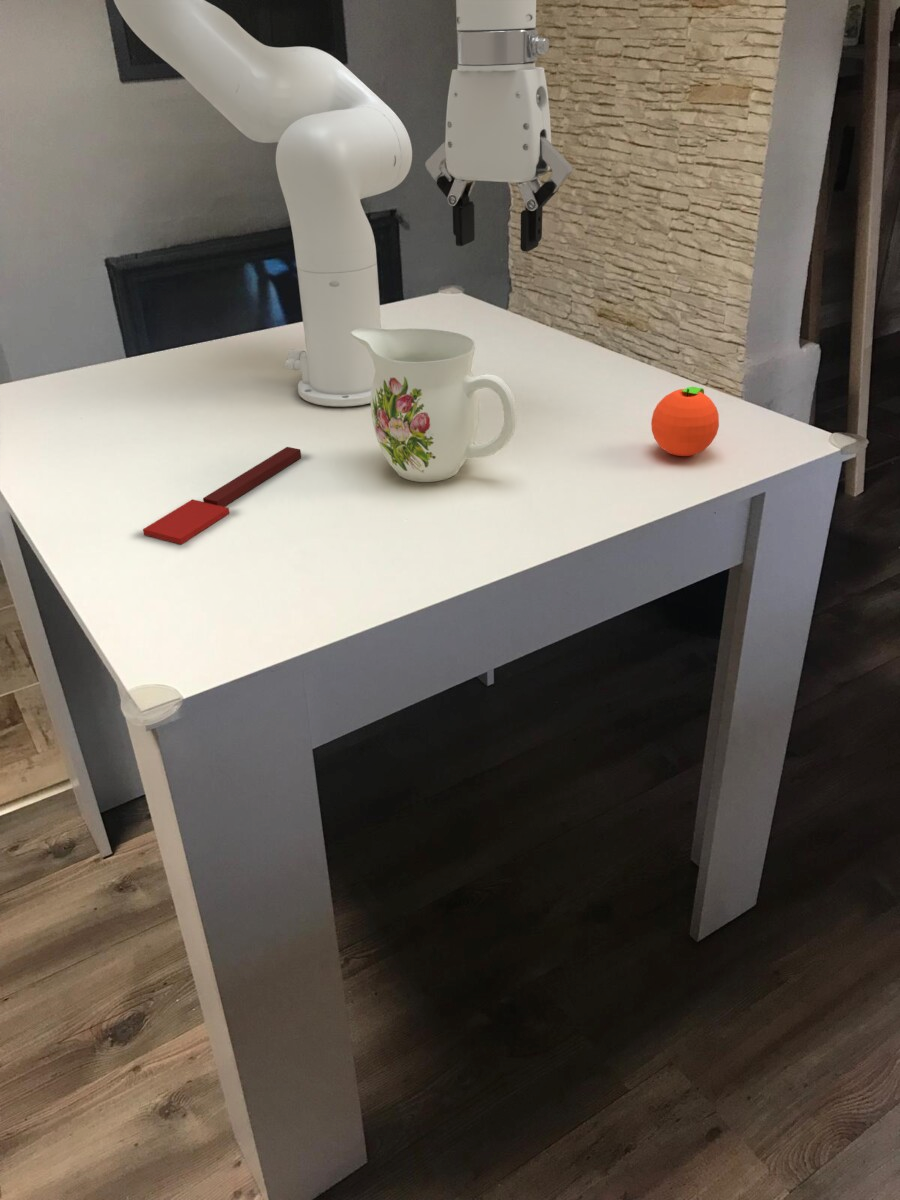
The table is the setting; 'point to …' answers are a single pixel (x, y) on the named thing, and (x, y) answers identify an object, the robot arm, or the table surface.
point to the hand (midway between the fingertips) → (497, 244)
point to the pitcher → (429, 401)
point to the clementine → (685, 422)
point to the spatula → (217, 501)
